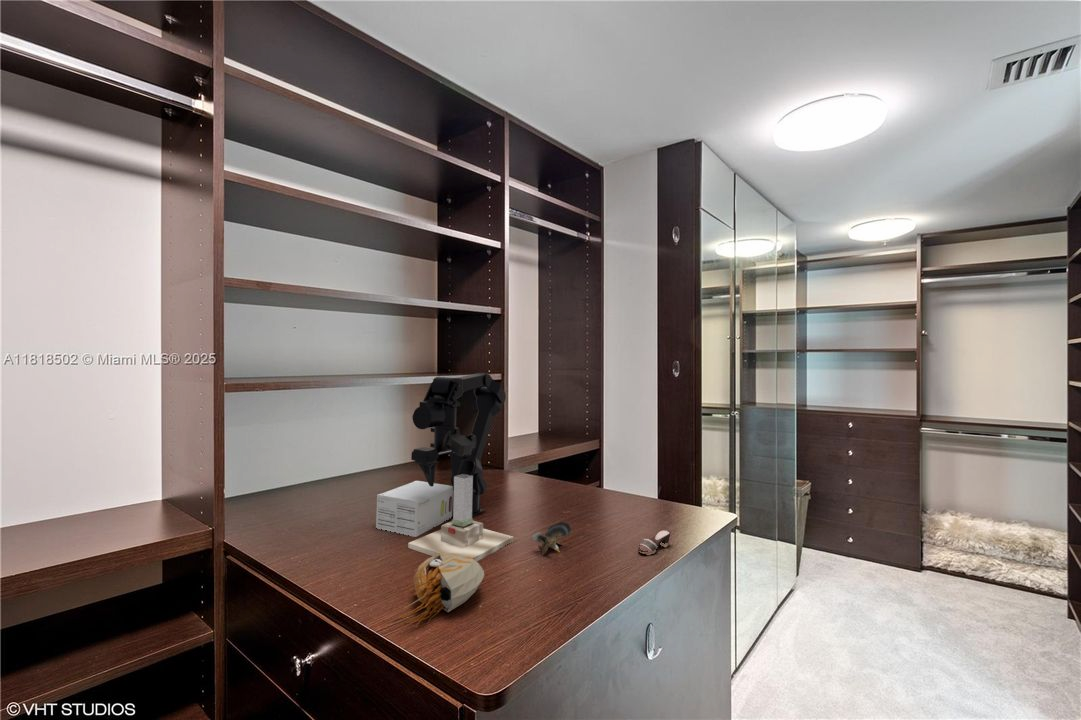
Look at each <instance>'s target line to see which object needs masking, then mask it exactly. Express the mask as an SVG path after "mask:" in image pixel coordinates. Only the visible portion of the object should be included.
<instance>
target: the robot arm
mask: <svg viewBox="0 0 1081 720" xmlns="http://www.w3.org/2000/svg"><path fill="white" fill-rule="evenodd" d="M472 390H473V395H474V396H475V398H476V401H475V403H476V407H477V410H478V412H477V415H476V418H475V421H474V423H473V424H474V425H473V428H472V429H471V430H472V431H471V433H469V434H467V436H466V435H462V434H461V430H460V427H457V407H460V406H461V403H460V402H459V400H458V399H459V398H460V397H462V396H463V394H464V393H466V392H469V391H472ZM506 395H507V394H506V392H505V391H504V389H503V387H502V385H501V384H500V383H499V382H497V381H496V380H495V379H493V378H492V376H491V375H490V374H489V373H488V372H487V373H485V372H475V373H473V374H468V375H465V376H459V377H449V376H448V377H445V376H436V377H434V378H433V379H432V382H431V383H430V385H429V387H428V390H427V392H426V394H425V396H424V399H423V400H422V401H419V406H418V407H417V408H415V409H414V411H413V414H412V415H411V416H412V418H411V419H412V423H413V424H414V426H415V427H416V428H417V429H419V430H428V429H430V432H431V433H433V442H431V443H430V447H425V446H422V447H418V448H414V449H413V450H412V451H411V461H414V462H415V463H417V464H418V466H419V467H420V469H421V471H422V473H423V474H424V478H425V479H426V482H428V484H429V486H431V487H433V486H434V483H435V478H436V476H435V475H436V473H435V472H436V467H437V466H438V464H439V463H440V461H437V460H438V459H439V456H441V455H445V454H449V457H450V465H451V474H450V482H451V486H453V492H454V476H457V475H461V474H466V475H471V476H473V494H472V517H475V516H477V515H479V514H482V513H483V512H485V509H483V508H481V495H484V494H485V493H486V491H487V487H488V484H487V482H486V480H485V479H484V478H483V472H484V470H483V467H482V461H481V460H482V456H483V454H484V450H485V447H486V444H487V441H488V437H489V434H490V430H491V426H492V423H493V420H494V417H495V416H496V415H497V414H498V413H499V412H501V410H502V408H503V406H504V403H505V401H506V399H507V397H506Z"/></svg>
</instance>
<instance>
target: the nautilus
mask: <svg viewBox="0 0 1081 720" xmlns="http://www.w3.org/2000/svg"><path fill="white" fill-rule="evenodd" d="M484 577H485V571H484V568H483V567H482V566H481V564H480V563H479V561H477V562H476V561H475V560H474V559H473V558H471V557H468V556H465V555H461V554H457V553H441V554H437V555H435V556H430V557H429V558H427V559H426V560H424V561H423V562H421V564H420V565H419V566H418V567H417V571H416V572H415V573H414V575H413V578H412V581H413V586H414V587H413V588H409V589H408V590H407V591H405V592H403V593H402V595H404V594H406V593H408V592H411V591H412V590H414V591H415V592H413V593H411V594H409V595H408V596H407V598H409V597H411V596H416V597H417V598H418V599H416V600H415V601H413V602H412V603H410V604H408V605H407V606H404V607H403V608H402V610H406V609H407V608H408V607H410V606H412V605H413V604H415V603H416V602H418V601H419V602H421V604H420V605H419V606H417V607H416V608H415V609H413V610H411V611H410V612H408V613H406V614H403V615H401V616H399V617H397V619H404V618H407V617H409V616H411V615H414V614H416V613H417V612H419V611H421V610H422V609H425V608H426V610H424V611H423V612H422V613H420V614H418V615H417V616H415V617H413V618H410V619H408V620H406V621H408V622H405V621H404V622H403V623H404V624H406V625H405V626H402V627H401V628H406V627H408V626H410V625H412V624H413V623H416V622H417V624H416V625H415V628H417V626H419V623H420V622H421V621H424V620H427V619H429V620H428V621H427V624H426V625H428V624H429V623H430V620H432V618H434V616H435V615H438V613H440V612H441V610H444V611H445V612H447V613H449V612H451V611H452V610H454V609H456V608H457V607H459V606H462V604H464V603H466V601H468V600H469V599H470V597H472V596H473V595H474V593H476V591H477V590H478V588H479V586H480V584H481V583H482V581H483V579H484ZM431 608H432V610H431ZM434 613H435V614H434ZM427 615H428V616H427ZM414 619H415V620H414ZM412 620H413V621H412Z"/></svg>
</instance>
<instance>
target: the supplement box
mask: <svg viewBox="0 0 1081 720" xmlns="http://www.w3.org/2000/svg"><path fill="white" fill-rule="evenodd" d="M453 502H454V491H453V486H452V485H449V484H443V483H442V484H441V483H435V482H434V486H433V487H431V486H429V484H428V481H422V480H414V481H411V482H410V483H406V484H404V485H401V486H398V487H395V488H393V489H390V490H387V491H385V492H382V493H380V494H379V493H378V494H376V515H375V516H376V518H375V529H376V528H377V529H376V530H381V529H382V530H381V531H385V530H387V531H386V532H390V531H391V532H390V533H394V532H396V533H395V534H399V533H400V535H403V534H404V536H408V535H409V537H413V538H417V537H419V536H420V535H422V534H424V533H426V532H428V531H430V530H432V529H433V527H434V528H436V527H437V526H439V525H441V524H443V523H445V522H446V520H447V521H448V520H450V519H452V518H451V517H453ZM449 518H450V519H449ZM444 521H445V522H444Z"/></svg>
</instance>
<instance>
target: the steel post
mask: <svg viewBox="0 0 1081 720" xmlns="http://www.w3.org/2000/svg"><path fill="white" fill-rule="evenodd" d="M472 494H473V476H471V475H466V474H461V475H457V476H454V491H453V505H452V517H453V518H451V521H452V524H454V525H457V526H461V527H464V526H467V525H469V524H471V523H473V521H474V518H473V516H472Z"/></svg>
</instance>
